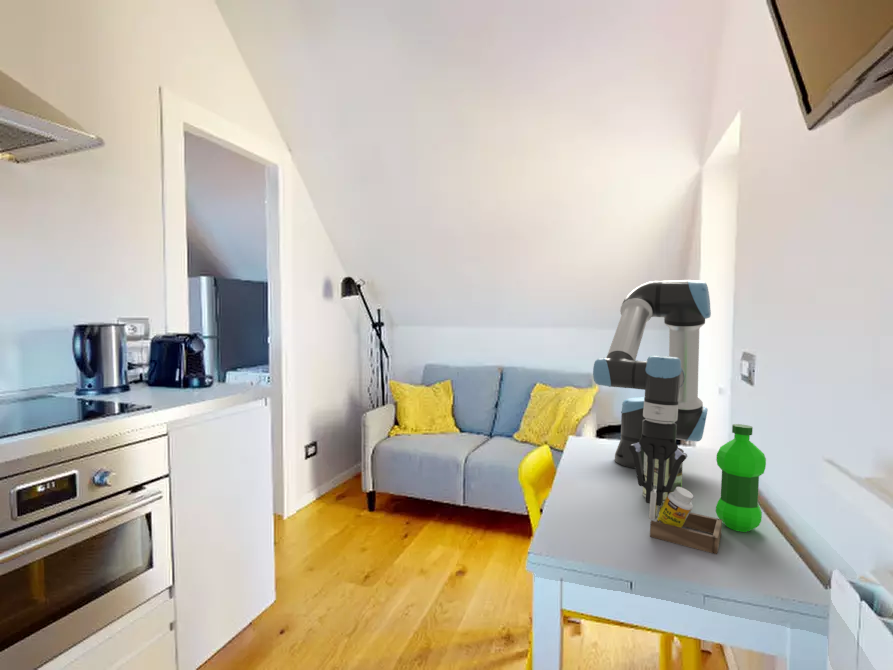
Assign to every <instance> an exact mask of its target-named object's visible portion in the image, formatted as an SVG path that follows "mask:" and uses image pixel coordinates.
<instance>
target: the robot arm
mask: <svg viewBox="0 0 893 670" xmlns="http://www.w3.org/2000/svg"><path fill="white" fill-rule="evenodd" d="M710 300H711V298H710V292H709V287H708V285H707V283H706V282H705V281H704V280H694V279H693V280H691V279H682V280H681V279H680V280H679V279H678V280H654V281H648V282H645V283H643V284H640V285H639V286H637V287H636V288H634V289H633V290H631V292H629V293H628V294H627V295H626V297H625V298H624V299H623V301H622V303H621V306H620V310H619V311H620V319H619V321H618V324H617V327H616V329H615V333H614V336H613V338H612V342H611V343H610V346H609V349H608V352H607V354H606V355H607V356H606V357H603V358H602V357H601V358H599V357H598V358H597V359H596V360H595V361H594V363H593V368H592V369H593V370H592V377H593V381H594V383H595V384H597V386H602V387H603V386H604V387H609V388H621V389H635V390H642V391H643V390H644V396H642V397H641V396H639V397H638V396H637V397H629V398H626V399H624V400H623V402H622V404H621V405H622V406H621V411H620V413H621V421H620V440H619V442H618V446H617V448H616V451H615V453H614V461H615V463H617V464H618V465H621V466H624V467H627V468H630V469H635V474H636V478H637V483H638V486H640V487H642V488H643V487H644V488H645V489H646V498H645V503H646V504H649V513H648V519H650V520H652V521H655V519H656V517H657V515H658V507H660V506H662V505H663V493H664V492H670V491H671V490H672V488H673V485H674V482H675V480H676V477H677V474H678V472H679V469H680V466H681V464H682V462H683V463H684V462H685V460H686V459H687V458H688V454H687V453H686V452H684V453H683V452H681V451H680V450H679V449H678V448H679V446H678V444H677V440H680V441H685V442H688V441H689V442H700V441H701V440H702V439H703V436H704V432H705V426H706V422H707V421H706V420H707V415H708V408H707V407H705V406H703V405H704V404H703V401H702V399H701V398H699V397H698V395H699V357H700V355H699V353H700V328H702V326H704V325H705V324H706V320H707V319H709V318H711V316H712V315H711V314H712V313H711V312H712V311H711V301H710ZM652 318H664V319H663V320H664V322H663V323H664V325H665V326H667V327H668V329H669V331H668V332H669V334H668V335H669V336H668V337H669V339H668V340H669V342H668V344H669V345H668V346H669V347H668V356H666V355H650V356H648V357H647V360H637V356H638V353H639V349H640V346H641V342H642V340H643V336H644V331H645V329H646V326H647V322H649V321H650V320H651V319H652ZM644 452H645V454H646V455H647V479H646V480H645V475H644ZM674 452H675V454H676V455H675V459H676V462H675V463H674V466H673V469H672V471H671V474H670V477H669V479H668V482H667V485H666V486H664V483H665V470H666V461H667V459H668V458H669V457H670V456H671V455H672V454H673V453H674ZM655 459H658V460H659V461H658V464H659V466H658V479H657V490H656V489H653V487H654V485H653V484H654V468H655Z"/></svg>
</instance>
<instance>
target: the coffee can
mask: <svg viewBox="0 0 893 670" xmlns="http://www.w3.org/2000/svg"><path fill="white" fill-rule="evenodd" d="M678 449H679V450H680V451H681V452H683V453H685V452H684V449H682V448H680V447H678ZM675 455H676V454H675V452H674V453H673V454H672V455H671V456H670V457H669V458H668V459H667V461H666V470H665V483H664V486H666V485H667V482H668V479H669V477H670V474H671V471H672V469H673V466H674V463H675V462H676V459H675ZM658 461H659V460H658V459H655V468H654V484H653V485H654V487H653V489H656V490H657V479H658V466H659V464H658ZM683 463H684V461H683V462H682V464H681V466H680V469H679V472H678V474H677V477H676V480H675V482H674V485H673V488H672V490H671V491H670V492H674V490H675V489H676V487H682V486H683ZM643 470H644V475H645V480H646V479H647V455H646V454H645V452H644V469H643ZM682 488H683V487H682ZM670 492H664V493H663V503H664V501H665V499H666V497H667V496H668V494H669V493H670ZM642 496H643V497H644V498H645V499H646V489H645V488H644V487H642ZM663 503H662V504H663Z"/></svg>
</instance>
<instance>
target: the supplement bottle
mask: <svg viewBox="0 0 893 670" xmlns="http://www.w3.org/2000/svg"><path fill="white" fill-rule="evenodd" d="M693 499H694V495H693V493H691V491H689V490H688V489H686V488H685V487H676V489H675V490H674V492H670V493H669V494H668V496H667V497H666V499H665V501H664V503H662V505H661V506H662V507H661V509H660V511H659V510H658V511H659V512H657V517H656V518H655V520H654V521H656V522H660V523H664V524H668V525H673V526H677V527H681V528H683V524H684V522H685V520H686V519H687V517H688V515H689V513H690V512H691V511H693V510H692V509H693V507H694V506H693V503H692V500H693Z"/></svg>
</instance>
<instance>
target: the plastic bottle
mask: <svg viewBox="0 0 893 670" xmlns="http://www.w3.org/2000/svg"><path fill="white" fill-rule="evenodd" d="M731 429H732V431H731V433H732V434H734V437H733V439H731V440H729V441H727V442H726V443H724V444H723V445H721V446H720V448H719V449H718V451H717V452H716V459H715V460H716V463H717V466H718V467H719V469H720V470H721V484H720V497H719V499H718V501H717V503H716V506H715V513H716V516H717V518H718V519H722V524H724V525H725V527H727V528H729V529H731V530H733V531H736V532H741V533H742V532H743V533H748V532H750V531H752V530H755V529H756V528H757V527H759V526H760V524H761V522H762V518H763V517H762V515H763V512H762V509H761V506H760V505H759V486H760V485H759V483H760V477H761V476H762V475H763V474H765V470H766V466H767V458H766V456H765V453H764V452H763V451H762V450H761V449H760V448H759V447H758V446H756V445H755V444H754V442H752V441H751V440H750V437H751V436H753V429H754V428H753V426H751V425H748V424H739V423H734V424H732V427H731ZM747 531H748V532H747Z"/></svg>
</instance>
